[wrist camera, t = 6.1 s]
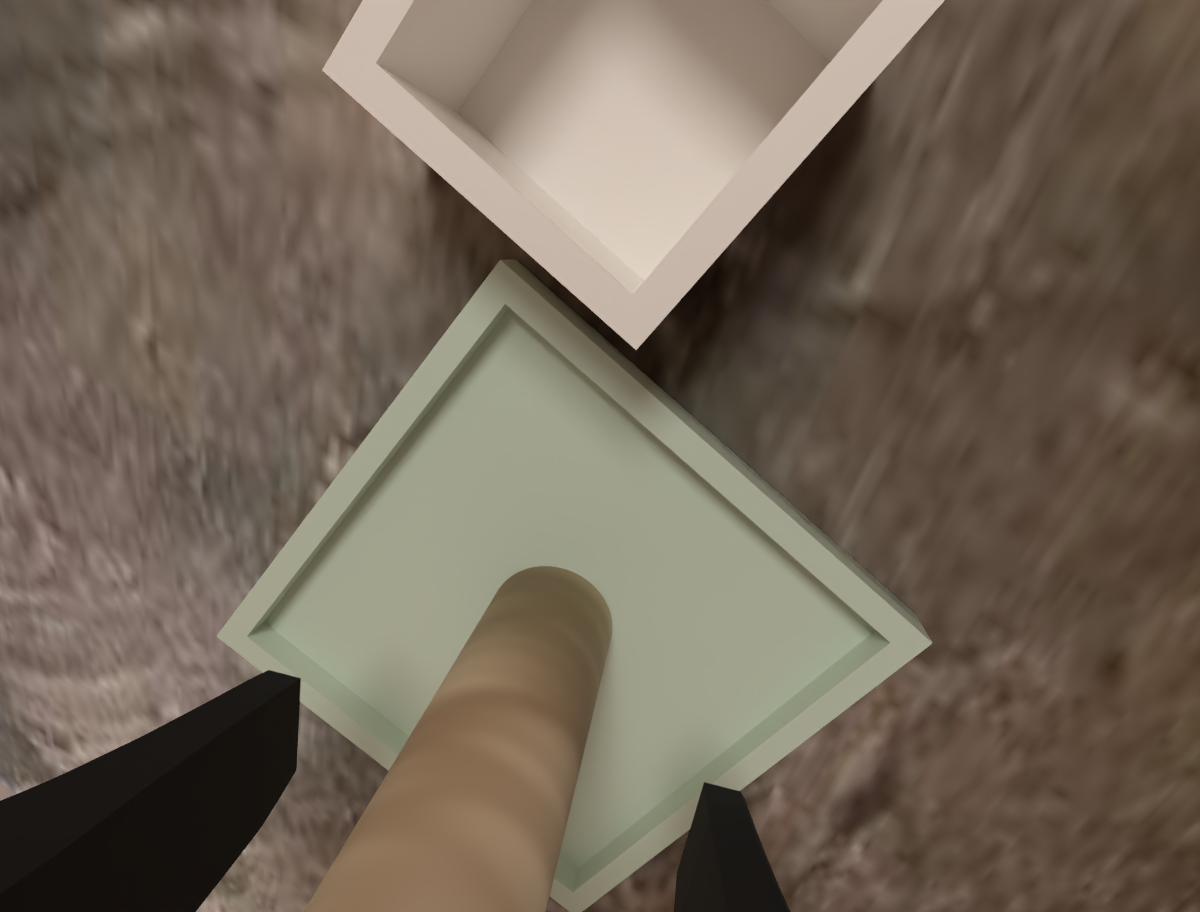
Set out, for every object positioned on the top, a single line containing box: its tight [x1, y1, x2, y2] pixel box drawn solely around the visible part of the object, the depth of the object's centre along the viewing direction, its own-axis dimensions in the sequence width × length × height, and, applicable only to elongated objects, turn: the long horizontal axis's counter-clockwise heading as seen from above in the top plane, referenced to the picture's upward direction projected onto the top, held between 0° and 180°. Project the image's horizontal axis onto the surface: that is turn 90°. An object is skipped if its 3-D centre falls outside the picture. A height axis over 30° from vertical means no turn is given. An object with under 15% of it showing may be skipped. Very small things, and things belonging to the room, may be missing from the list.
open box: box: [322, 0, 944, 350], centre depth 11 cm, size 6×6×4 cm
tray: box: [217, 259, 932, 912], centre depth 16 cm, size 12×12×1 cm
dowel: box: [304, 566, 612, 912], centre depth 12 cm, size 3×3×9 cm
